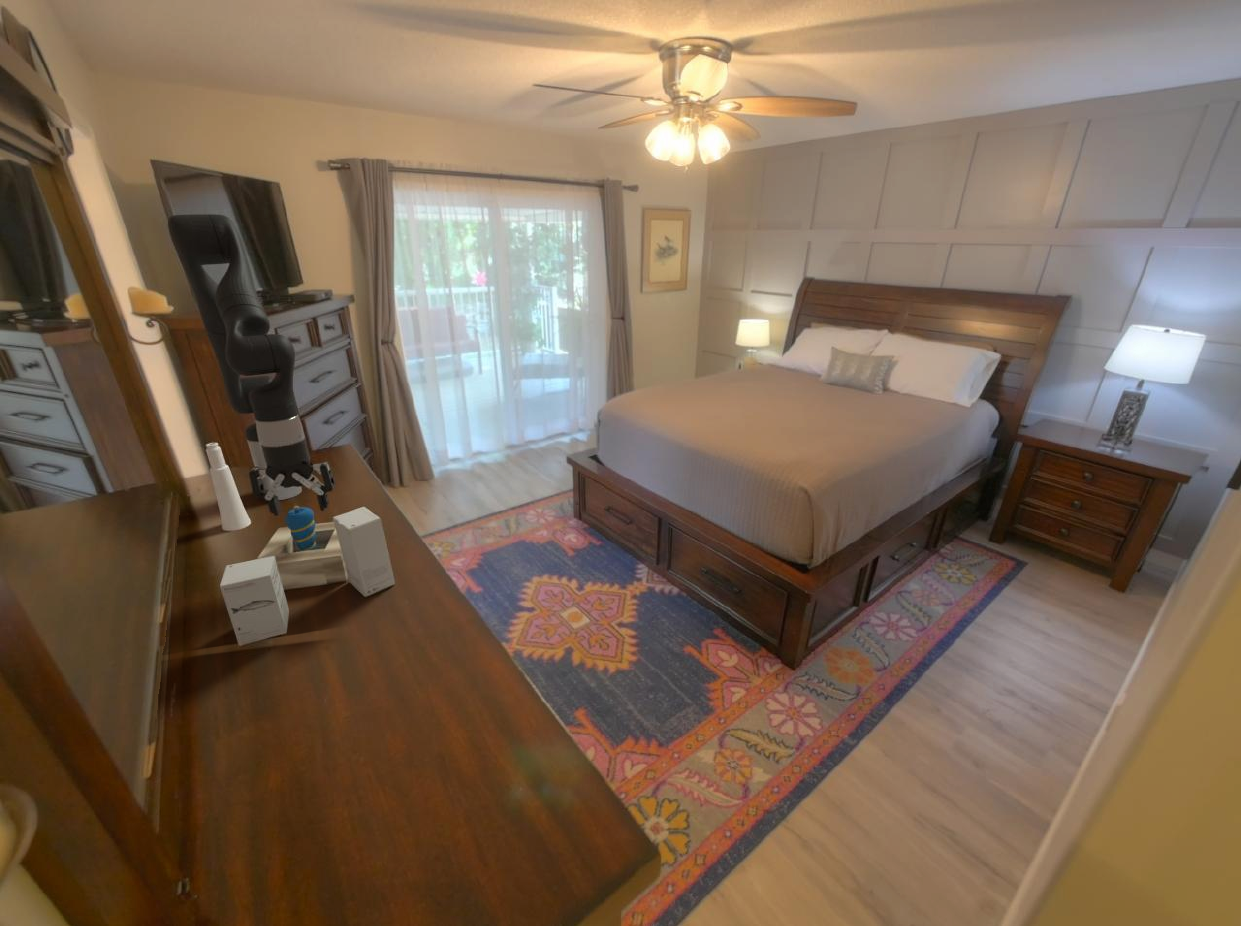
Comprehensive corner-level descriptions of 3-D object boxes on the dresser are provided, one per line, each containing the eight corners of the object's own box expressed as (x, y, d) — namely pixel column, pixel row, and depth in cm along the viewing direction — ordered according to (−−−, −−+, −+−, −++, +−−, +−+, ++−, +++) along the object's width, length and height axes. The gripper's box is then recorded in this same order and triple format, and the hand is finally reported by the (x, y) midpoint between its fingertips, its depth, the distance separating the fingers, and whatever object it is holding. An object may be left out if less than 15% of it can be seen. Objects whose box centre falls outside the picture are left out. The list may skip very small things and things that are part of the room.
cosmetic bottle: (252, 528, 126) (227, 445, 118) (222, 535, 123) (194, 450, 115) (251, 518, 131) (228, 438, 123) (222, 525, 128) (196, 442, 120)
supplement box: (238, 647, 88) (217, 586, 83) (244, 622, 94) (225, 564, 89) (288, 634, 91) (270, 574, 86) (291, 610, 97) (274, 553, 92)
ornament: (330, 559, 113) (316, 498, 108) (315, 572, 108) (299, 509, 103) (308, 558, 114) (293, 497, 108) (292, 571, 109) (275, 508, 103)
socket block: (285, 552, 116) (278, 527, 114) (361, 543, 120) (356, 519, 118) (259, 593, 102) (251, 566, 100) (346, 581, 106) (340, 555, 104)
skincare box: (395, 585, 105) (383, 518, 99) (363, 599, 100) (347, 530, 95) (378, 569, 110) (365, 504, 104) (346, 582, 106) (331, 515, 100)
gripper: (327, 430, 105) (342, 500, 111) (248, 435, 102) (268, 507, 108) (317, 442, 99) (334, 516, 105) (233, 448, 95) (255, 524, 101)
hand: (301, 511), depth 106 cm, fingers open, 8 cm apart
